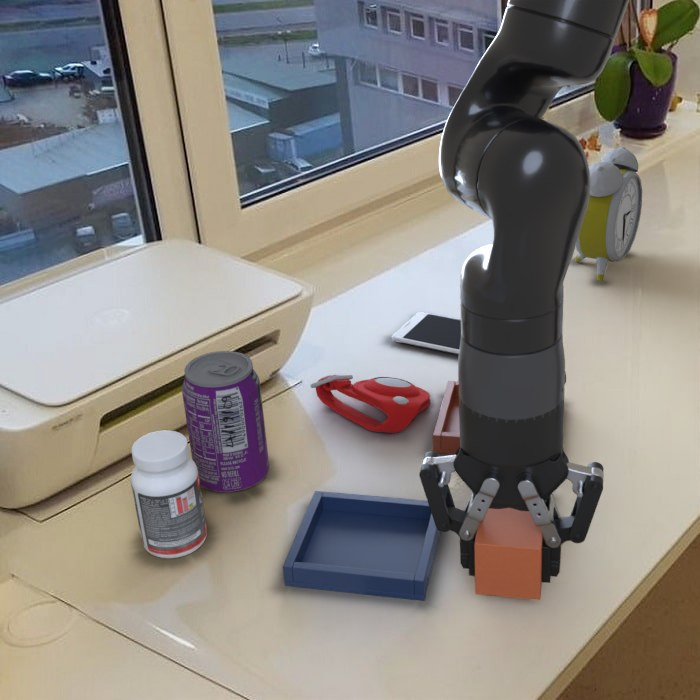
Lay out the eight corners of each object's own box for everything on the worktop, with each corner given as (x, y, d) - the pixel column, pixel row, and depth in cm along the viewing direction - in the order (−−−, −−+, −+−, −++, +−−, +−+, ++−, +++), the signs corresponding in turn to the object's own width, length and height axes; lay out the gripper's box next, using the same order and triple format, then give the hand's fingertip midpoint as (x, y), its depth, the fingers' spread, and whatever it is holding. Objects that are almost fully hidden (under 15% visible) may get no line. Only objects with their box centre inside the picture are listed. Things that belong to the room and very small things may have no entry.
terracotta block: (544, 558, 86) (545, 508, 84) (540, 600, 82) (541, 549, 80) (482, 553, 87) (481, 504, 85) (475, 594, 83) (474, 543, 81)
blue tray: (443, 520, 94) (443, 501, 93) (424, 601, 85) (423, 581, 84) (316, 508, 96) (314, 490, 96) (284, 585, 87) (282, 566, 86)
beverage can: (283, 464, 103) (271, 355, 97) (246, 505, 97) (232, 392, 92) (220, 450, 106) (205, 343, 100) (181, 489, 100) (163, 379, 95)
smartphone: (510, 362, 117) (389, 336, 124) (510, 367, 117) (389, 341, 124) (535, 333, 122) (418, 310, 129) (535, 338, 123) (418, 315, 129)
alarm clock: (609, 287, 134) (616, 172, 127) (557, 278, 137) (562, 165, 130) (639, 253, 142) (648, 144, 135) (590, 245, 146) (596, 138, 138)
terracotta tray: (560, 404, 110) (561, 387, 109) (554, 462, 101) (555, 444, 100) (448, 397, 112) (448, 380, 111) (432, 452, 103) (432, 435, 102)
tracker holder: (421, 372, 115) (445, 398, 105) (415, 412, 116) (438, 440, 106) (310, 362, 112) (325, 387, 103) (305, 403, 113) (319, 431, 104)
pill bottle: (221, 538, 93) (207, 443, 89) (168, 570, 90) (151, 473, 85) (182, 512, 97) (167, 419, 92) (129, 541, 94) (111, 447, 89)
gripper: (403, 409, 75) (413, 596, 83) (613, 421, 72) (602, 614, 80) (420, 358, 81) (428, 535, 89) (614, 366, 78) (604, 550, 86)
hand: (510, 571), depth 84 cm, fingers closed on terracotta block, 5 cm apart
